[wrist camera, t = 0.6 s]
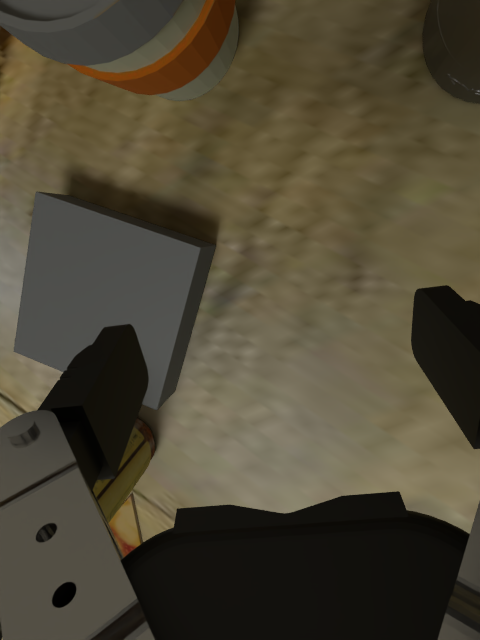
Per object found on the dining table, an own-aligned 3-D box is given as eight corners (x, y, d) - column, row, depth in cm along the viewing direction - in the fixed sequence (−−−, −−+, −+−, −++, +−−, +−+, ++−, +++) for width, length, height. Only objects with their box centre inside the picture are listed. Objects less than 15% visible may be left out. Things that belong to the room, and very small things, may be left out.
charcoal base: (68, 195, 34) (36, 191, 30) (216, 245, 32) (200, 247, 28) (45, 339, 38) (13, 351, 34) (175, 391, 36) (156, 410, 32)
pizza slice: (250, 588, 40) (246, 606, 38) (139, 683, 47) (131, 702, 45) (134, 490, 41) (125, 503, 39) (41, 598, 48) (29, 614, 46)
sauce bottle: (90, 421, 39) (-132, 601, 20) (140, 401, 37) (-53, 579, 19) (121, 477, 40) (-67, 699, 21) (171, 460, 38) (14, 688, 19)
